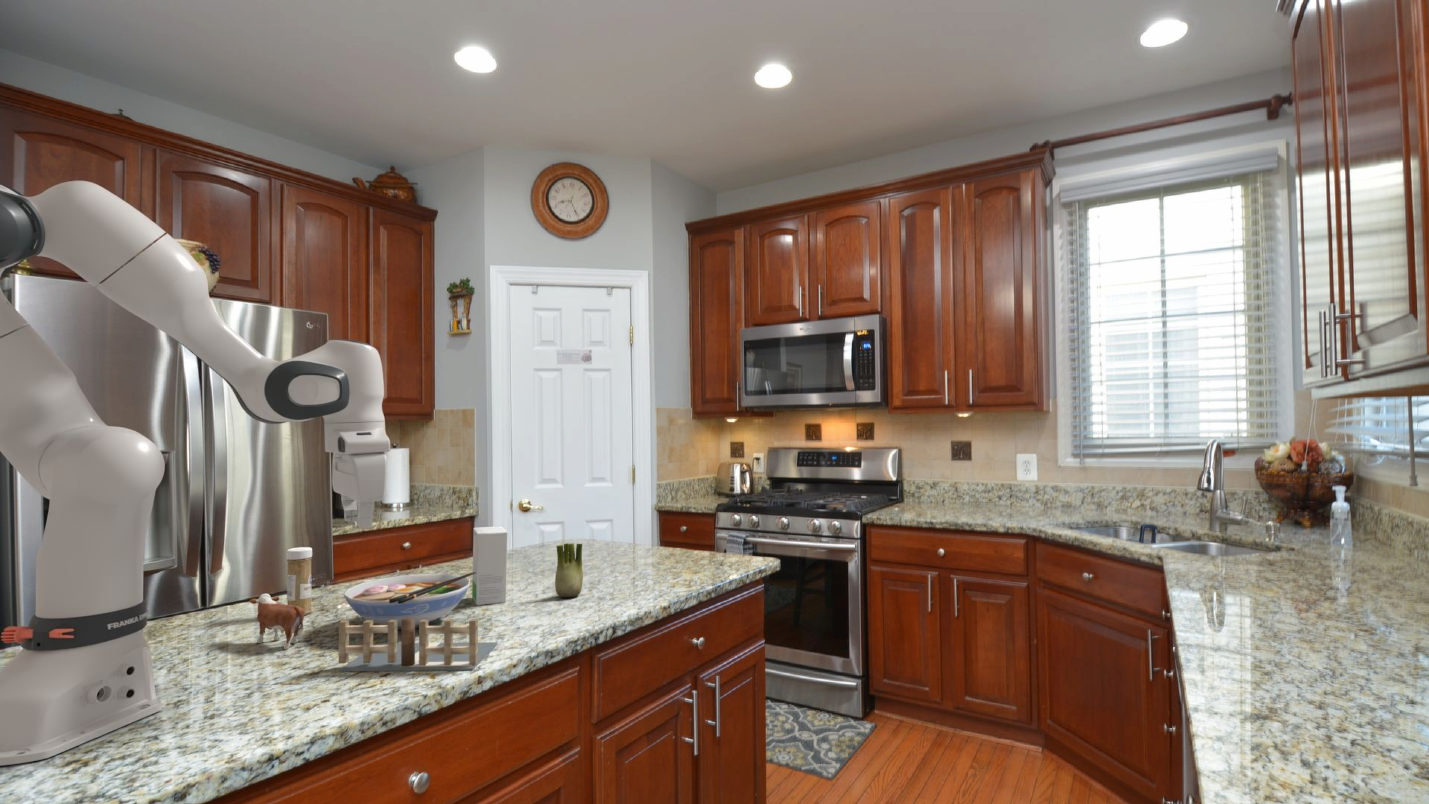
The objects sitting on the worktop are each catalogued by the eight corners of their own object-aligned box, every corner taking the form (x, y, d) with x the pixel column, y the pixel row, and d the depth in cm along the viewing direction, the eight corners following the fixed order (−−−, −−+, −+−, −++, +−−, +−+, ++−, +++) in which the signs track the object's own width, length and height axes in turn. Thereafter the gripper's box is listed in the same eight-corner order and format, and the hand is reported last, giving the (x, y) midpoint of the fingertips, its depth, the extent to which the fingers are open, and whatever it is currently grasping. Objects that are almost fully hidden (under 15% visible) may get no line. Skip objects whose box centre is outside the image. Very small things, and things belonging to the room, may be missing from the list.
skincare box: (471, 597, 158) (471, 527, 158) (502, 594, 161) (502, 525, 161) (476, 606, 150) (476, 532, 151) (508, 602, 153) (508, 530, 154)
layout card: (472, 670, 112) (472, 667, 112) (339, 671, 112) (339, 669, 112) (497, 643, 125) (497, 641, 125) (377, 645, 125) (377, 643, 125)
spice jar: (312, 614, 145) (313, 548, 145) (286, 618, 142) (287, 551, 143) (310, 609, 149) (311, 545, 149) (285, 613, 146) (286, 547, 146)
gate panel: (397, 660, 114) (397, 619, 114) (393, 662, 113) (394, 621, 113) (342, 660, 114) (342, 620, 114) (338, 663, 113) (338, 622, 113)
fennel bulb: (583, 594, 160) (583, 540, 161) (580, 599, 155) (580, 544, 156) (557, 594, 160) (557, 541, 160) (554, 600, 155) (553, 545, 155)
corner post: (411, 668, 113) (411, 621, 113) (399, 668, 113) (399, 621, 113) (416, 664, 115) (417, 617, 115) (404, 664, 115) (404, 617, 115)
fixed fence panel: (478, 662, 114) (477, 618, 114) (475, 665, 113) (475, 620, 113) (422, 663, 114) (422, 619, 114) (419, 665, 113) (419, 621, 113)
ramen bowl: (402, 604, 152) (402, 566, 153) (497, 610, 147) (496, 570, 147) (309, 639, 128) (309, 594, 128) (417, 648, 123) (417, 601, 123)
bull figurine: (269, 634, 132) (269, 590, 132) (310, 645, 125) (310, 599, 125) (243, 640, 128) (244, 595, 128) (284, 652, 121) (284, 604, 121)
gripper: (321, 438, 121) (323, 519, 121) (348, 443, 105) (351, 535, 106) (361, 436, 125) (363, 514, 125) (393, 440, 109) (395, 530, 110)
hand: (357, 524), depth 115 cm, fingers open, 8 cm apart
